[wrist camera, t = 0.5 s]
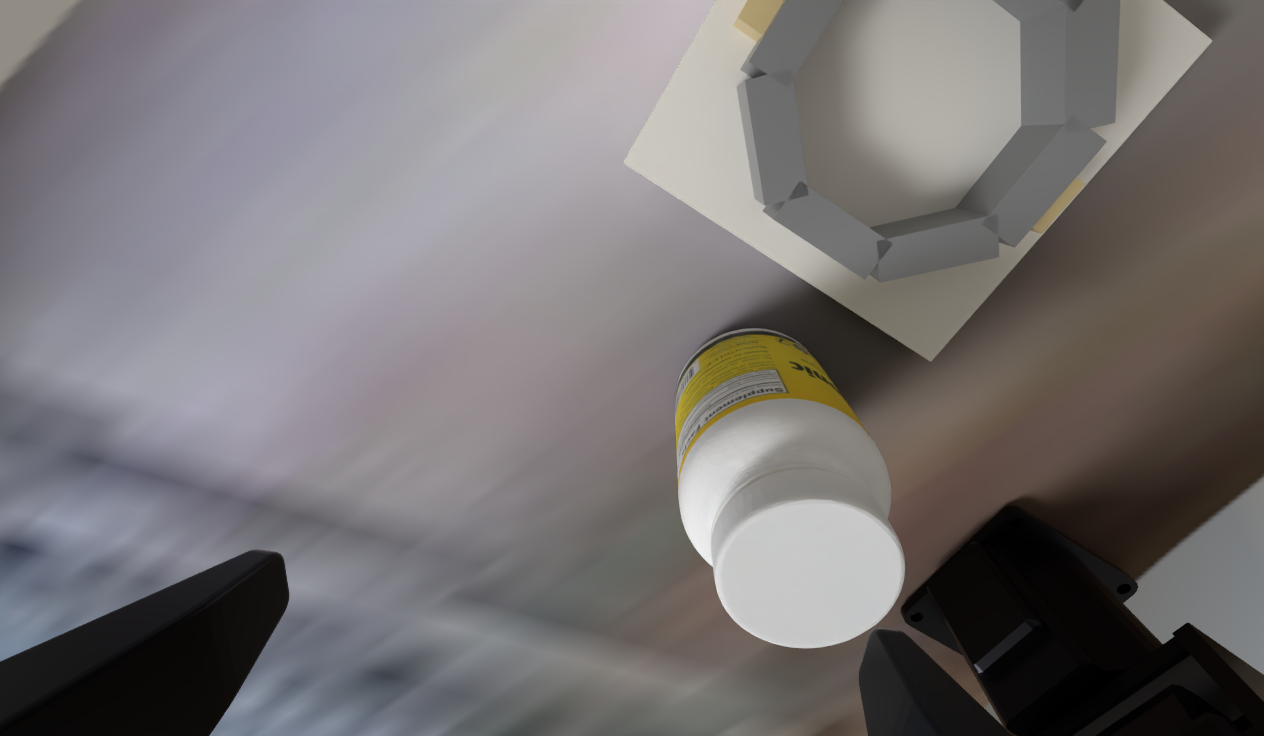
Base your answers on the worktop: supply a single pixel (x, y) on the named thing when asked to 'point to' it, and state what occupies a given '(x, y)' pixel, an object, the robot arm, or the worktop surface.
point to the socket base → (906, 136)
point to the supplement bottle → (784, 492)
